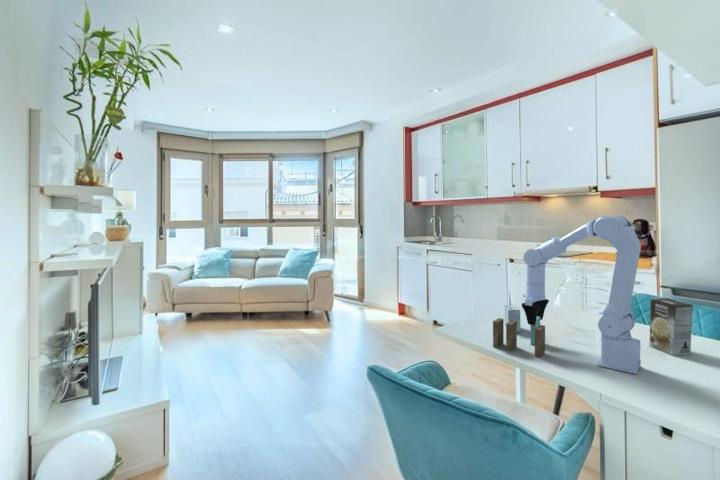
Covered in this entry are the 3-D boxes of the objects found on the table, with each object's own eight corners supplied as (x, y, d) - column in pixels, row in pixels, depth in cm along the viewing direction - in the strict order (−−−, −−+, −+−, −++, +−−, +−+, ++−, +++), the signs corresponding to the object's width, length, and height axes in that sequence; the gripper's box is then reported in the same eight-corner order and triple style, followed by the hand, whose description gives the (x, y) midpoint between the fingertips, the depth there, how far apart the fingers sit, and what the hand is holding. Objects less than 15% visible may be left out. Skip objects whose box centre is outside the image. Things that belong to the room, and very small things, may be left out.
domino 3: (544, 353, 120) (545, 325, 120) (539, 357, 117) (540, 329, 116) (539, 351, 121) (539, 325, 121) (534, 356, 118) (534, 328, 117)
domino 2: (540, 341, 131) (540, 316, 130) (535, 345, 127) (535, 320, 126) (535, 340, 132) (535, 315, 131) (530, 344, 128) (530, 319, 127)
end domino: (503, 344, 129) (503, 318, 129) (497, 348, 126) (497, 322, 125) (498, 343, 130) (498, 317, 130) (493, 347, 127) (493, 321, 126)
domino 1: (516, 346, 126) (516, 321, 126) (511, 351, 123) (511, 324, 122) (511, 345, 127) (511, 320, 127) (506, 350, 124) (506, 323, 123)
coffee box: (647, 346, 124) (649, 298, 123) (665, 345, 124) (667, 297, 123) (672, 356, 115) (674, 305, 114) (692, 355, 115) (694, 304, 114)
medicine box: (520, 332, 141) (520, 310, 141) (508, 332, 142) (508, 309, 141) (516, 326, 149) (516, 304, 148) (504, 325, 150) (504, 304, 149)
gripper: (530, 279, 136) (530, 315, 137) (516, 285, 125) (515, 324, 126) (551, 281, 131) (551, 318, 132) (538, 287, 120) (537, 328, 121)
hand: (535, 321), depth 129 cm, fingers open, 7 cm apart
